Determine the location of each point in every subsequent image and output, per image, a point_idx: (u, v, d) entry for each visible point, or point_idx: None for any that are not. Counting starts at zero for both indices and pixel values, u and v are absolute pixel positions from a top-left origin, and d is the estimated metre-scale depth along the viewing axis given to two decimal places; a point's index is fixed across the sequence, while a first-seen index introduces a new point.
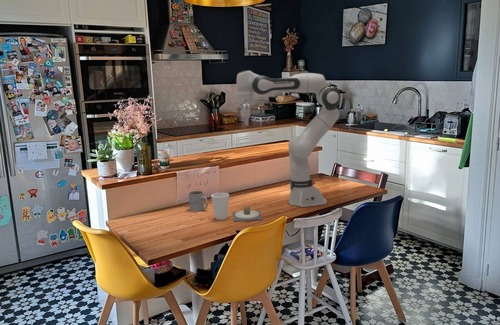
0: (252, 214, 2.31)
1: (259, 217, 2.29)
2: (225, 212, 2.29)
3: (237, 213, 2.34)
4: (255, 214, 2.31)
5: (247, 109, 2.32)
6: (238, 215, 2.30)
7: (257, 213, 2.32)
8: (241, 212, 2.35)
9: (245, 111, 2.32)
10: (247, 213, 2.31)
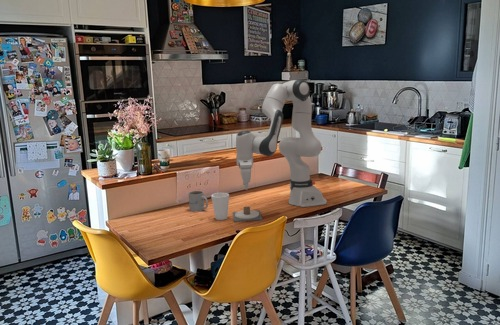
0: (252, 214, 2.31)
1: (259, 217, 2.29)
2: (225, 212, 2.29)
3: (237, 213, 2.34)
4: (255, 214, 2.31)
5: None
6: (238, 215, 2.30)
7: (257, 213, 2.33)
8: (241, 212, 2.35)
9: None
10: (247, 213, 2.31)
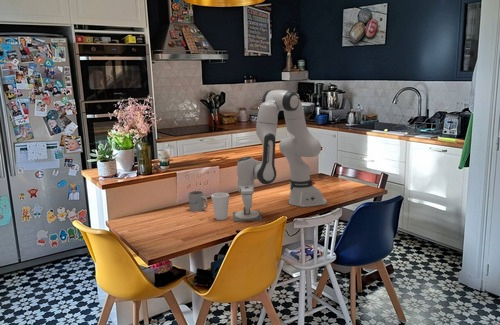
0: (252, 214, 2.31)
1: (259, 217, 2.29)
2: (225, 212, 2.29)
3: (237, 213, 2.34)
4: (255, 214, 2.31)
5: None
6: (238, 215, 2.30)
7: (257, 213, 2.33)
8: (241, 212, 2.35)
9: None
10: None
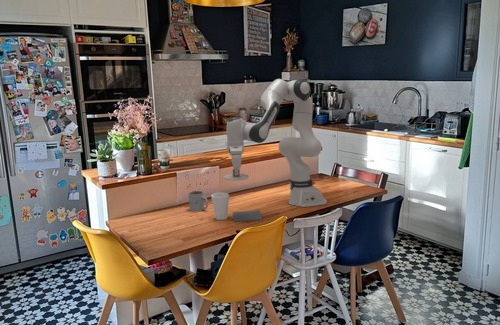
0: (241, 176, 2.26)
1: (259, 217, 2.29)
2: (225, 212, 2.29)
3: (226, 176, 2.29)
4: (244, 176, 2.26)
5: None
6: (227, 177, 2.25)
7: (247, 175, 2.28)
8: (230, 175, 2.30)
9: None
10: (236, 175, 2.26)
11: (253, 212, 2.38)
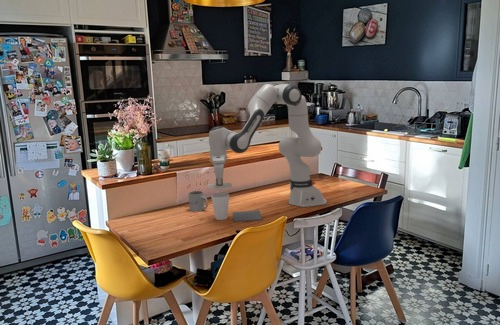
0: (224, 185, 2.27)
1: (259, 217, 2.29)
2: (225, 212, 2.29)
3: (209, 184, 2.29)
4: (228, 185, 2.26)
5: None
6: (210, 186, 2.26)
7: (230, 184, 2.28)
8: (214, 184, 2.31)
9: None
10: (219, 184, 2.26)
11: (253, 212, 2.38)
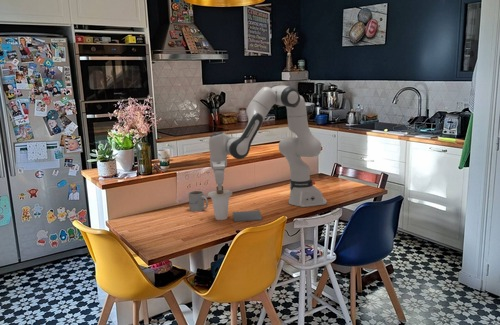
0: (225, 193, 2.28)
1: (259, 217, 2.29)
2: (225, 212, 2.29)
3: (210, 193, 2.30)
4: (228, 193, 2.27)
5: None
6: (211, 194, 2.27)
7: (230, 192, 2.29)
8: (215, 192, 2.32)
9: None
10: (220, 192, 2.27)
11: (253, 212, 2.38)
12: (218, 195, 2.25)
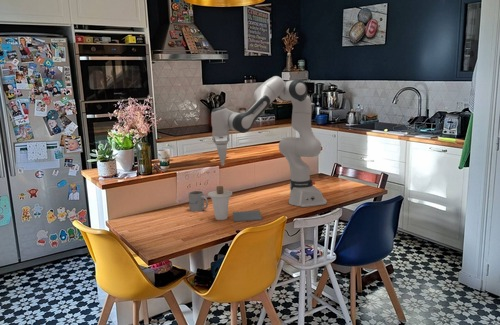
0: (225, 193, 2.28)
1: (259, 217, 2.29)
2: (225, 212, 2.29)
3: (210, 193, 2.30)
4: (228, 193, 2.27)
5: None
6: (211, 194, 2.27)
7: (230, 192, 2.29)
8: (214, 192, 2.32)
9: None
10: (220, 192, 2.27)
11: (253, 212, 2.38)
12: (218, 195, 2.25)
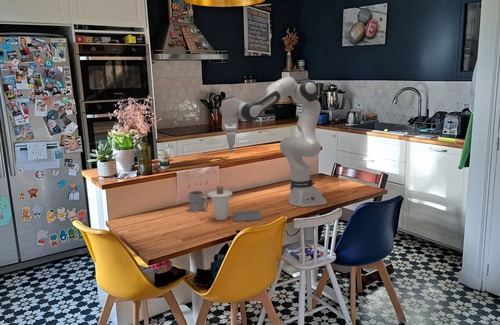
0: (225, 193, 2.28)
1: (259, 217, 2.29)
2: (225, 212, 2.29)
3: (210, 193, 2.30)
4: (228, 193, 2.27)
5: None
6: (211, 194, 2.27)
7: (230, 192, 2.29)
8: (214, 192, 2.32)
9: None
10: (220, 192, 2.27)
11: (253, 212, 2.38)
12: (218, 195, 2.25)
